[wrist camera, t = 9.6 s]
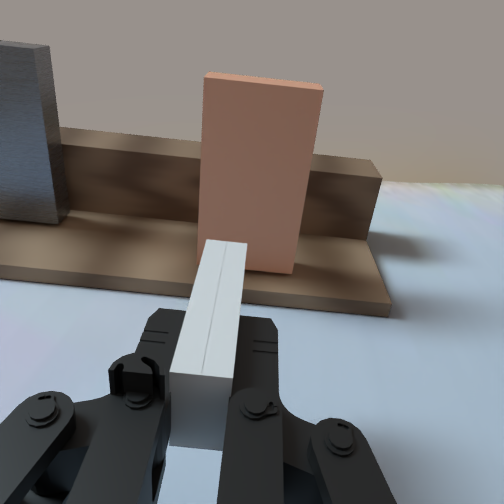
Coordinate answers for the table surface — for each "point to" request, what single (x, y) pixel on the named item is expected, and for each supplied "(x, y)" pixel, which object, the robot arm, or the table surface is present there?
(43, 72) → the grey rectangular slab
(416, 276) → the table surface
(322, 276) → the brown piece
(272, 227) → the terracotta key
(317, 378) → the table surface
